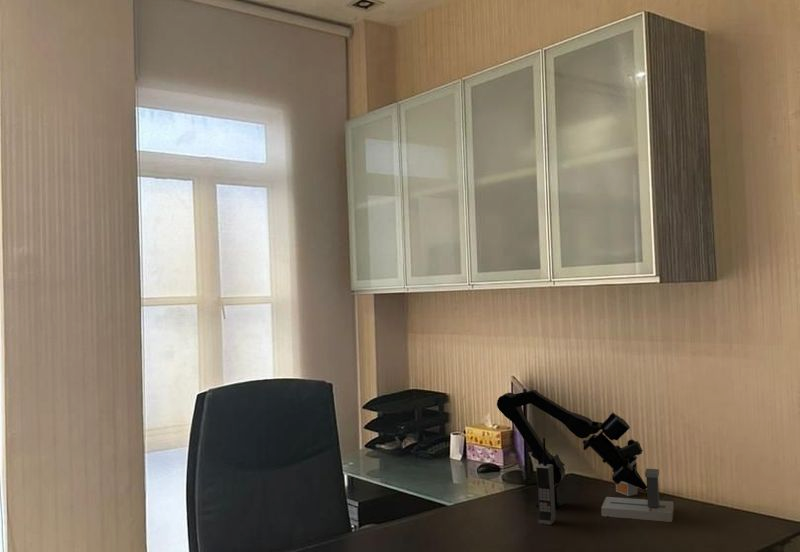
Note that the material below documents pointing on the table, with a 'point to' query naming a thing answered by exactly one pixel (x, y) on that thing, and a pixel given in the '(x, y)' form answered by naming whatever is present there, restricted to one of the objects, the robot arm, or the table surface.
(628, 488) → the skincare box
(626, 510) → the block
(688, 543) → the table surface
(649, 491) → the fader tab
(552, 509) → the vintage mobile phone
